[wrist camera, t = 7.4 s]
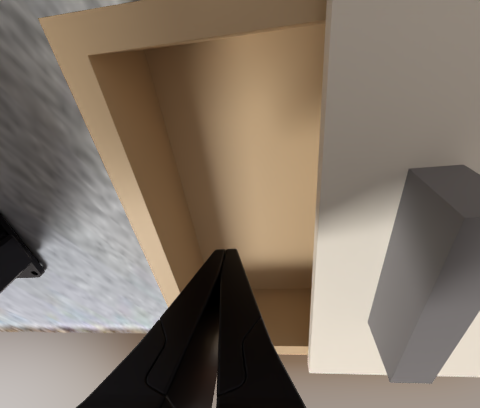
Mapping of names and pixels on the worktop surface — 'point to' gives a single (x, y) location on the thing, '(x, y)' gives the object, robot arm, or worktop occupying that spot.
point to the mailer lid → (398, 192)
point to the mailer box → (209, 136)
